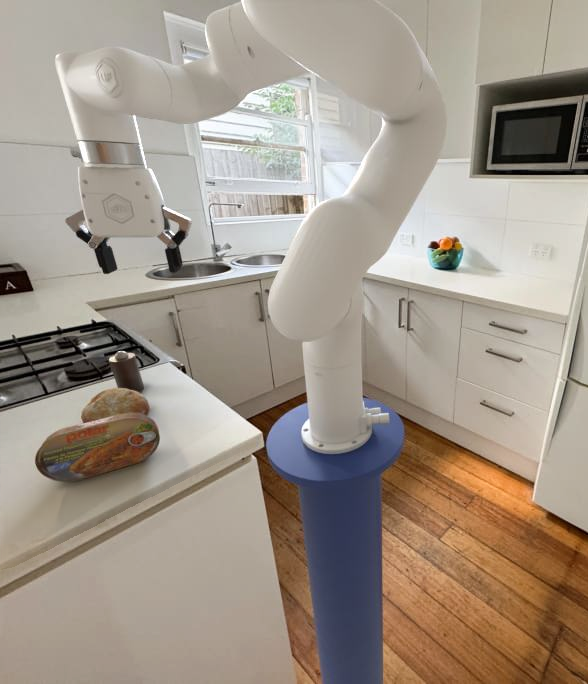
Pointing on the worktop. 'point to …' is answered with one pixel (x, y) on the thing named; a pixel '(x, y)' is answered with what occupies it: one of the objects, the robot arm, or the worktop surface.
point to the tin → (97, 447)
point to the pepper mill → (126, 371)
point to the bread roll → (114, 404)
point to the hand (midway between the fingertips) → (143, 271)
